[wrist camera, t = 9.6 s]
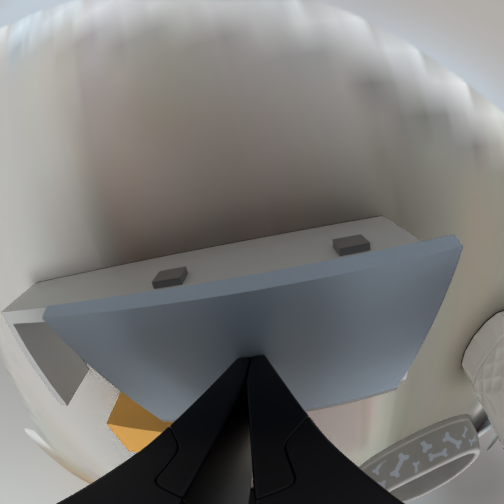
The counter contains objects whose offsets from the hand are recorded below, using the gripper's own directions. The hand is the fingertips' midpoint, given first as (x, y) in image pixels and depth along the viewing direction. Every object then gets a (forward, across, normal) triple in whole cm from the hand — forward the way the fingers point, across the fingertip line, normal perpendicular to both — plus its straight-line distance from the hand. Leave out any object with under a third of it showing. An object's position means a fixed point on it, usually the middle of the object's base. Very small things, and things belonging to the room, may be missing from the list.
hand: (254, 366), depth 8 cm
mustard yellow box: (+6, -10, -11) cm, 16 cm away
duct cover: (+1, 0, -1) cm, 2 cm away
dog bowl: (+6, +15, -31) cm, 35 cm away
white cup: (+7, +18, -11) cm, 22 cm away
